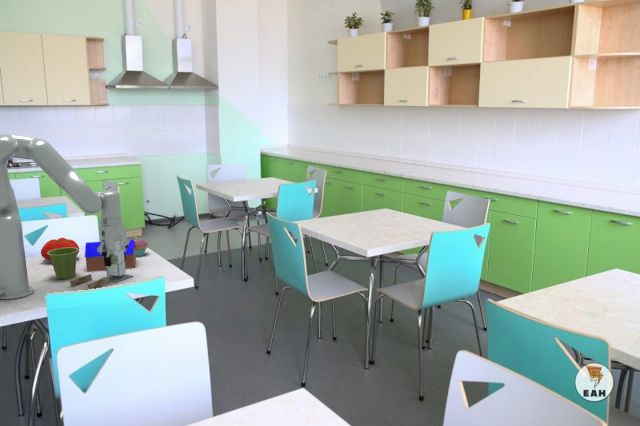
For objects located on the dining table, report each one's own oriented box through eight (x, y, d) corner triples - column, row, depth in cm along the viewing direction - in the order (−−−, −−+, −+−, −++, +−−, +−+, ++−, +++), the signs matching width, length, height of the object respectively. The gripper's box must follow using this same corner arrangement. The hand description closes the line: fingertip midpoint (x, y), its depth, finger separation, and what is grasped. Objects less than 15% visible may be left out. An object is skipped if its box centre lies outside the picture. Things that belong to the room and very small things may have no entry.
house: (90, 264, 247) (87, 239, 245) (136, 261, 252) (134, 236, 250) (86, 272, 236) (83, 246, 234) (134, 268, 241) (132, 242, 238)
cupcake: (126, 256, 259) (124, 232, 256) (137, 252, 267) (135, 228, 264) (141, 258, 256) (140, 233, 254) (152, 253, 264) (150, 229, 262)
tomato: (71, 264, 246) (69, 243, 244) (35, 264, 247) (33, 243, 245) (85, 256, 260) (83, 235, 258) (51, 256, 261) (49, 236, 259)
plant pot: (65, 271, 237) (63, 246, 234) (87, 274, 232) (84, 248, 230) (43, 279, 226) (40, 253, 224) (65, 282, 222) (62, 255, 219)
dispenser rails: (89, 290, 212) (88, 284, 211) (70, 286, 217) (70, 280, 216) (109, 283, 220) (108, 277, 220) (90, 279, 225) (89, 273, 225)
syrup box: (126, 272, 229) (123, 238, 226) (119, 276, 223) (116, 242, 220) (113, 272, 230) (110, 238, 227) (106, 276, 224) (103, 242, 221)
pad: (116, 282, 221) (116, 281, 221) (100, 279, 225) (100, 278, 225) (133, 276, 229) (132, 275, 229) (117, 273, 233) (117, 272, 233)
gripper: (101, 226, 213) (105, 270, 216) (134, 218, 228) (137, 259, 231) (87, 224, 216) (91, 268, 220) (121, 216, 231) (124, 257, 235)
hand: (115, 263), depth 225 cm, fingers closed on syrup box, 7 cm apart
